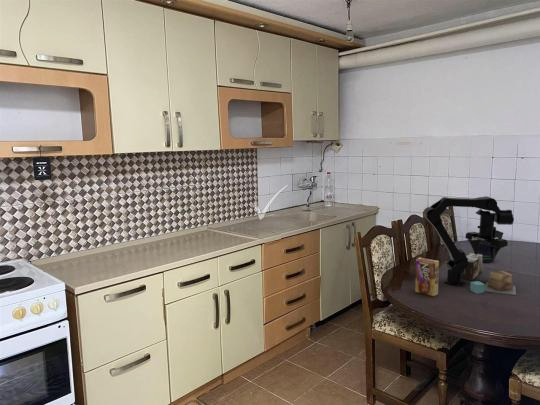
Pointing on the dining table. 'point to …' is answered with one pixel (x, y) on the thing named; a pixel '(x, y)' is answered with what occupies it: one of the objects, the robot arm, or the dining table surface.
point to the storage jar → (485, 251)
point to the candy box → (427, 276)
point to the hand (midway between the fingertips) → (484, 257)
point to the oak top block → (500, 276)
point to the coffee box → (473, 266)
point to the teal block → (477, 287)
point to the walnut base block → (500, 285)
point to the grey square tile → (510, 292)
